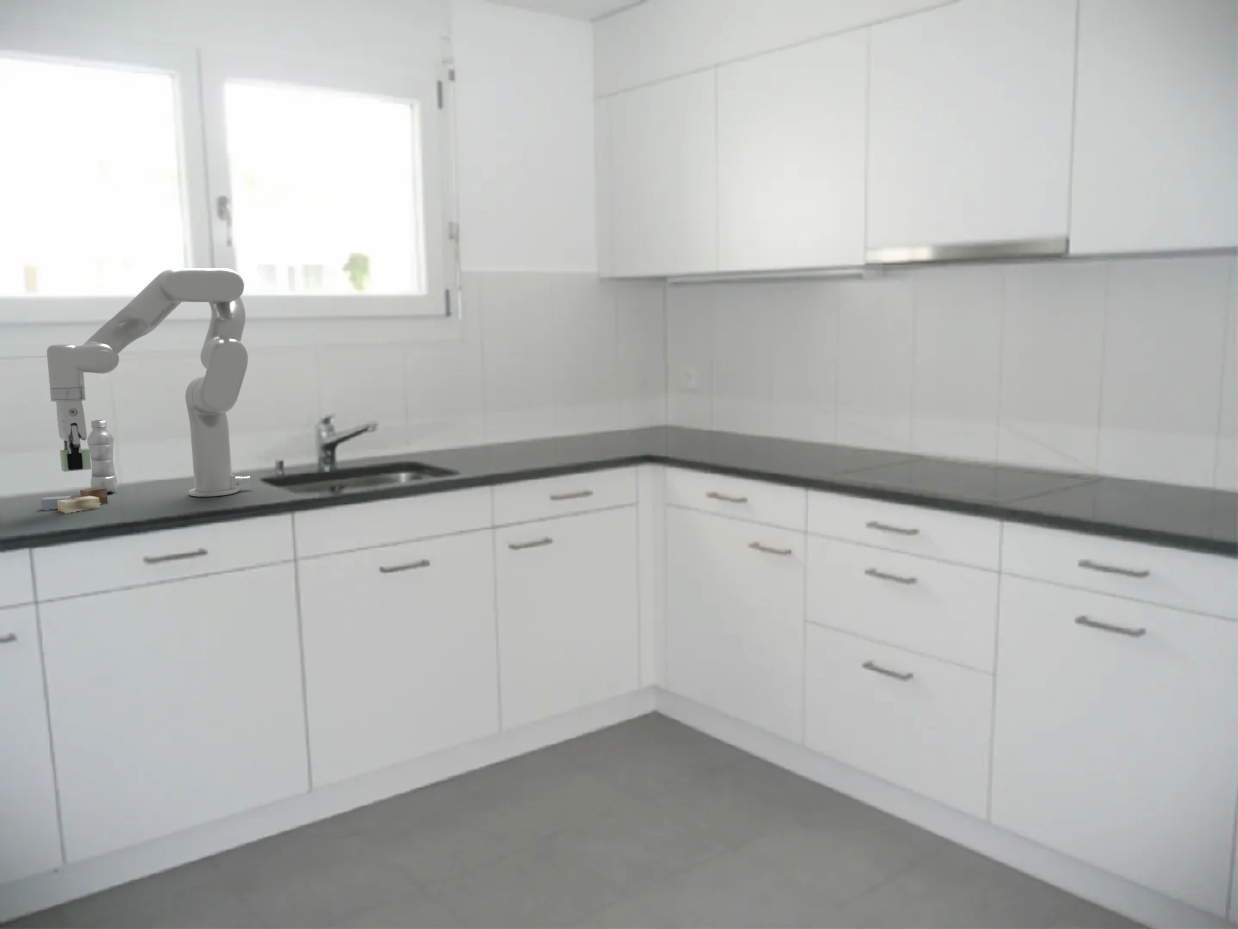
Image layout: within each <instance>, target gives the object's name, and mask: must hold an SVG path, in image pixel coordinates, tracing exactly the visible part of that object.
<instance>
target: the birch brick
mask: <svg viewBox="0 0 1238 929" xmlns="http://www.w3.org/2000/svg"><path fill="white" fill-rule="evenodd" d="M57 504H58V510H57V511H58V512H59V511H61V512H60V513H63V512H64V513H63V514H72V513H71V512H73V513H77V512H76V511H80V512H82V511H81V510H86V511H88V510H87V509H93V510H97V509H98V508H99V509H101V504H100V500H99V498H98V497H93V496H86V497H81V496H80V497H74V498H72V499H65V500H58V501H57Z"/></svg>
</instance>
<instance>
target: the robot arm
mask: <svg viewBox="0 0 1238 929" xmlns="http://www.w3.org/2000/svg"><path fill="white" fill-rule="evenodd" d="M244 289H245V282H244V280H243V278H242V276H241V275H240V274H239V273H238V272H237V271H236V270H235V271H234V270H233V269H230V268H184V267H183V268H182V267H179V268H170V269H166V270H164V271H162V272H160V273H159V274H158V275H156V277H154V279H152V281H150V282H149V283H148V284H147V285H146V286H145V287H144V289H142V290H141V291H140V292H139V293H138V294H137V295H136V296H135V297H134V298H133V299H132V300H131V301H130V302H128V304H126V306H124V307H123V308H122V309H121V310H120V311H118V312H117V313H116V314H115V315H114V316H113V317H111V318H110V319H109V320H108V321H107V322H106V323H104V324H103V325H102V326H101V327H100V328H99V329H97V331H96V332H95V333H94V334H92V336H91V337H90V338H88V339H87V340H86V341H85V342H84V343H83V344H82V345H77V344H72V343H71V344H64V343H63V344H52V345H51V344H50V345H49V346H48V347H47V349H46V357H47V358H46V359H47V370H48V371H47V372H48V380H49V381H48V382H49V391H50V392H49V394H50V402H53V403H55V405H56V418H57V419H56V420H57V428H58V434H59V439H61V440H63V450H68V454H67V461H68V469H69V470H77V469H83V462H82V453H81V448H82V446H81V440H82V441H87V439H88V434H87V427H86V426H87V425H86V419H85V410H84V405H83V401H86V391H85V389H86V388H85V377H84V376H85V374H84V373H91V374H92V373H93V374H108V373H111V372H112V371H114V370H116V369H117V367H118V365H119V362H120V356H119V354H120V353H121V352H122V351H123V350H124V349H126V347H127V346H129V345H130V344H132V343H133V342H134V341H136V340H138V339H140V338H143V337H144V336H147V335H148V334H150V333H151V332H153V331H154V330H155V329H156V328H157V327H158V326H159V325H160V324H161V323H162V322H163V321H164V320H165V319H166V318H167V317H168V316H169V315H170V314H171V313H172V312H173V311H175V310H176V308H178V306H179V305H181V303H208V304H209V306H210V311H211V317H210V322H209V326H208V329H207V333H206V336H205V339H204V342H203V345H202V348H201V351H200V362H201V364H202V366H203V367H204V368H205V369H206V372H205V375H203V376H198V377H196V378H194V379H193V380H192V381H191V382H189V384H188V386H187V387H186V390H185V403H186V404H185V405H186V410H187V414H188V419H189V426H190V427H189V428H190V441H191V442H190V444H191V445H190V446H191V455H192V456H191V457H192V468H193V470H192V471H193V480H194V482H193V483H194V488H191V489H189V490H188V494H189V496H191V497H197V498H198V497H202V498H205V497H209V498H210V497H220V496H227V495H233V494H236V493H238V492H240V488H239V485H241V484H251V482H252V481H251V476H250V475H248V476H247V475H246V476H236V475H235V474H233V473H232V458H231V447H230V446H231V445H230V444H231V443H230V430H229V421H228V416H227V413H228V412H230V410H232V409H233V408H234V406H235V404H236V403H237V401H238V398H239V395H240V391H241V389H242V388H241V387H242V385H243V382H244V379H245V375H246V372H247V368H248V363H249V355H248V351H247V348H246V347H245V345H243V343H242V342H241V341H242V337H243V332H244V328H245V324H246V308H245V306H244V303H243V301H242V298H241V296H242V295H243V293H244Z"/></svg>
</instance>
